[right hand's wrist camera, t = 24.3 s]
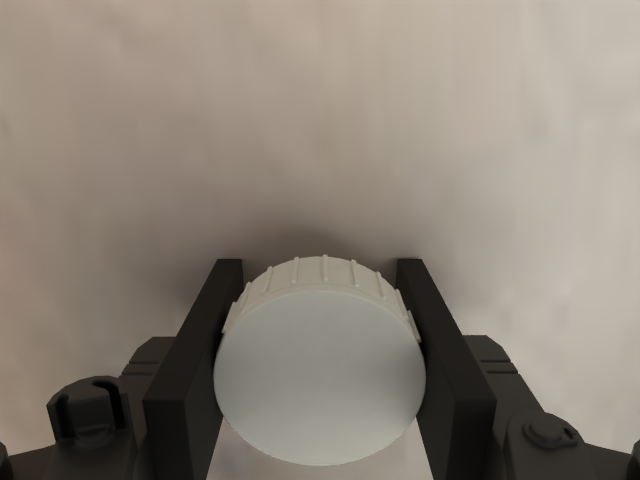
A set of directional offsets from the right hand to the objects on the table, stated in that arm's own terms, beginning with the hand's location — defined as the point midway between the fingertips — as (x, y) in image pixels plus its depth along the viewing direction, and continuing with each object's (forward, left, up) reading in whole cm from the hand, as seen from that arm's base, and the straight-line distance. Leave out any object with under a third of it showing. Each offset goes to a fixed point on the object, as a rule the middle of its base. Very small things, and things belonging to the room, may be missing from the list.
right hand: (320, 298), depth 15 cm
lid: (0, 0, +4) cm, 4 cm away
